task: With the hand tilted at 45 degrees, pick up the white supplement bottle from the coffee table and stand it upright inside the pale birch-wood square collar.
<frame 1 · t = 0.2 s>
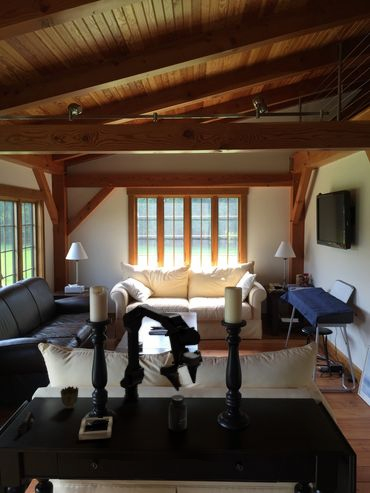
hand: (186, 387, 152), 15 cm above the table, tool tilted 15°, fingers open, 9 cm apart
supplement bottle: (177, 428, 151), on the table
collar: (96, 430, 149), on the table
potted succulent: (69, 408, 168), on the table
lighter: (27, 430, 151), on the table
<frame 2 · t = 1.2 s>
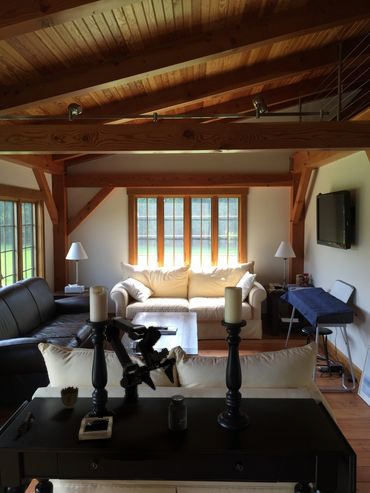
hand: (164, 386, 156), 14 cm above the table, tool tilted 45°, fingers open, 9 cm apart
nothing on the table moved.
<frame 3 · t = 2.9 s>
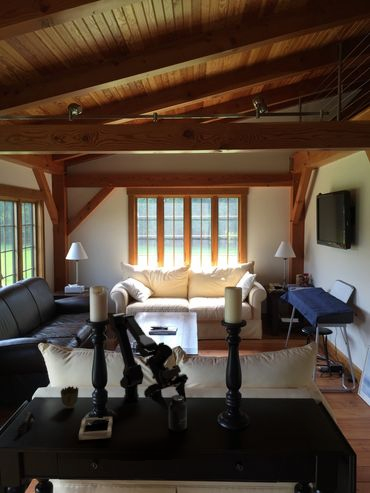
hand: (176, 405, 151), 8 cm above the table, tool tilted 45°, fingers open, 9 cm apart
nothing on the table moved.
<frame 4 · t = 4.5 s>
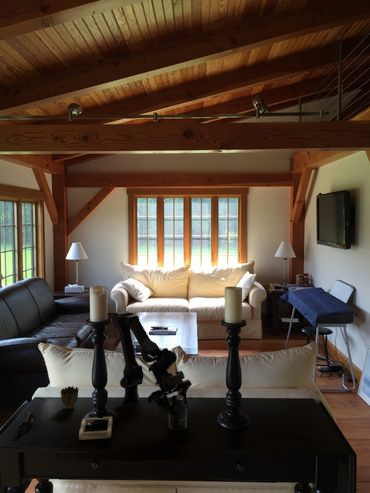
hand: (180, 412, 150), 7 cm above the table, tool tilted 45°, fingers closed on supplement bottle, 7 cm apart
supplement bottle: (177, 427, 151), on the table, touching gripper
everything else where it was.
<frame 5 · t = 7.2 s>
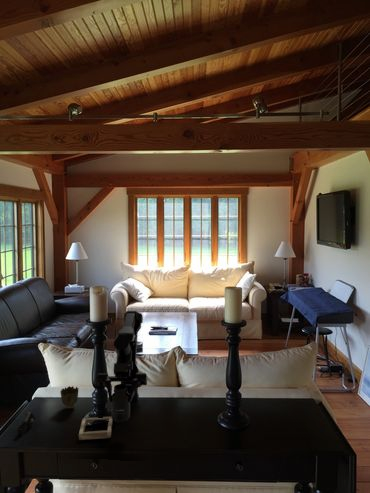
hand: (120, 402, 144), 13 cm above the table, tool tilted 45°, fingers closed on supplement bottle, 7 cm apart
supplement bottle: (121, 418, 146), point 6 cm above the table, touching gripper
everything else where it was.
when the fingers open (9 cm above the table, at t = 9.8 s): supplement bottle drops 3 cm, resting in collar.
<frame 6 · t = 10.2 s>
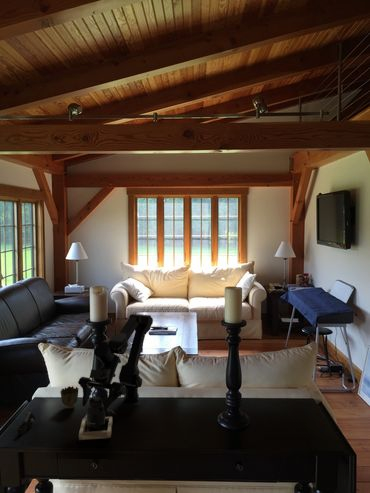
hand: (93, 407, 147), 10 cm above the table, tool tilted 45°, fingers open, 9 cm apart
supplement bottle: (96, 430, 150), resting in collar
everything else where it was.
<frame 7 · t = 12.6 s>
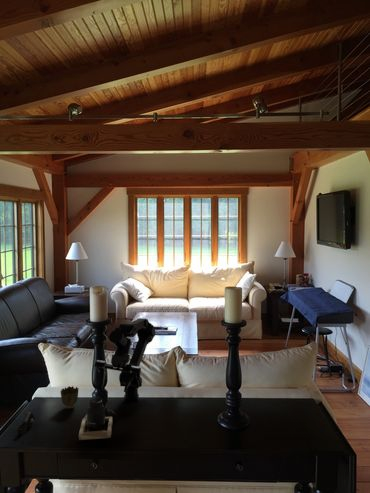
hand: (113, 389, 157), 12 cm above the table, tool tilted 40°, fingers open, 9 cm apart
nothing on the table moved.
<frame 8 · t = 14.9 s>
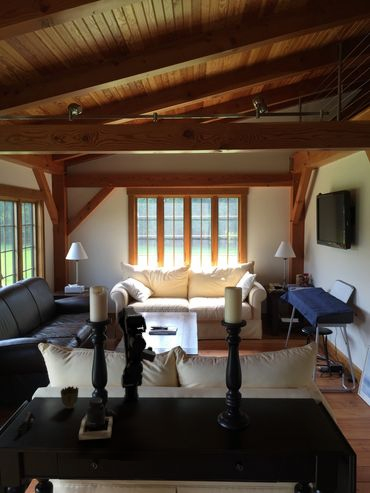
hand: (135, 381, 163), 13 cm above the table, tool pointing down, fingers open, 9 cm apart
nothing on the table moved.
at the end: supplement bottle 0.1 cm off-centre on the collar, point 0.0 cm above the collar's base; supplement bottle tilted 0°; the gripper is holding nothing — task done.
